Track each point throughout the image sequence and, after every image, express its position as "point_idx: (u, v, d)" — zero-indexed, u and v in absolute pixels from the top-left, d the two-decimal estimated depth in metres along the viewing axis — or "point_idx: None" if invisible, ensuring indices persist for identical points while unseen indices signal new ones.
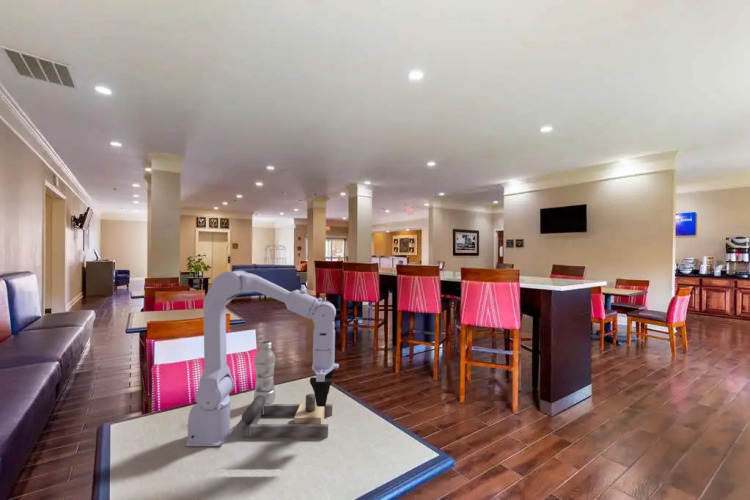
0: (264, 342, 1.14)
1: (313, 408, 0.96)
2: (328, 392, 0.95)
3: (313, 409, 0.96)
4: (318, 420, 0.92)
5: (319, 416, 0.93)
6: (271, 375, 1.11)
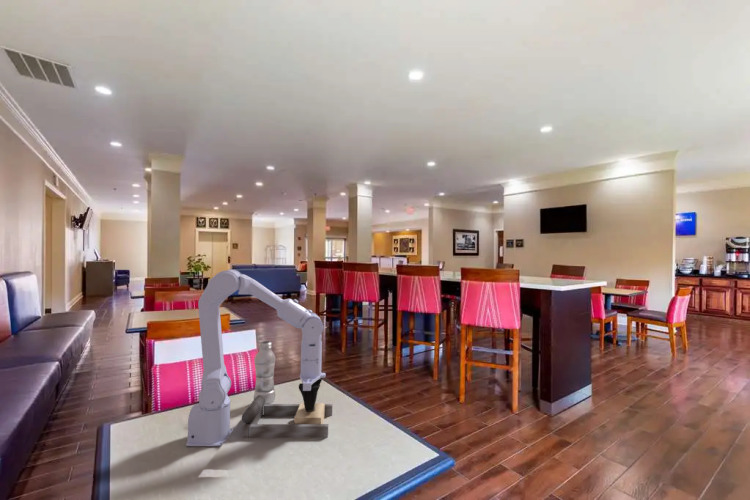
0: (264, 342, 1.14)
1: None
2: None
3: (313, 409, 0.96)
4: (318, 420, 0.92)
5: (319, 416, 0.93)
6: (271, 375, 1.11)
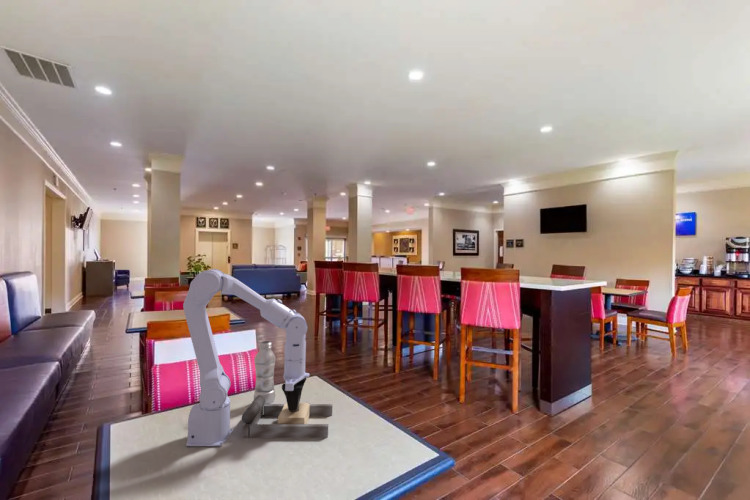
0: (264, 342, 1.14)
1: (297, 408, 0.96)
2: None
3: (297, 409, 0.96)
4: (301, 420, 0.92)
5: (303, 416, 0.93)
6: (271, 375, 1.11)
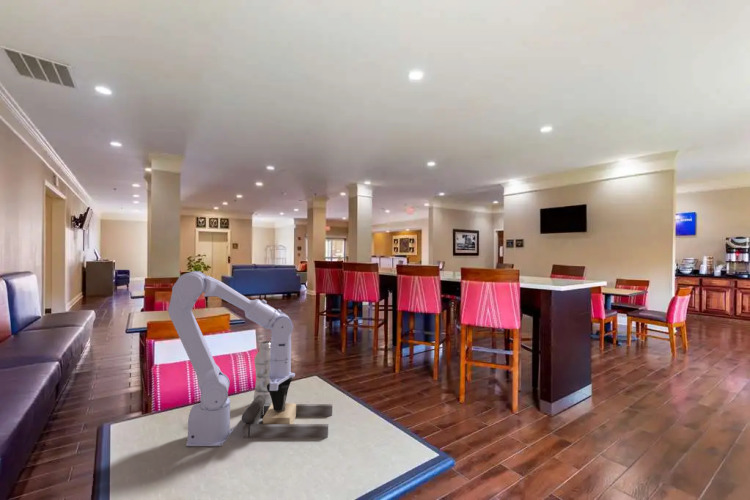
0: (264, 342, 1.14)
1: (283, 408, 0.96)
2: None
3: (283, 409, 0.96)
4: (287, 420, 0.92)
5: (288, 416, 0.93)
6: None
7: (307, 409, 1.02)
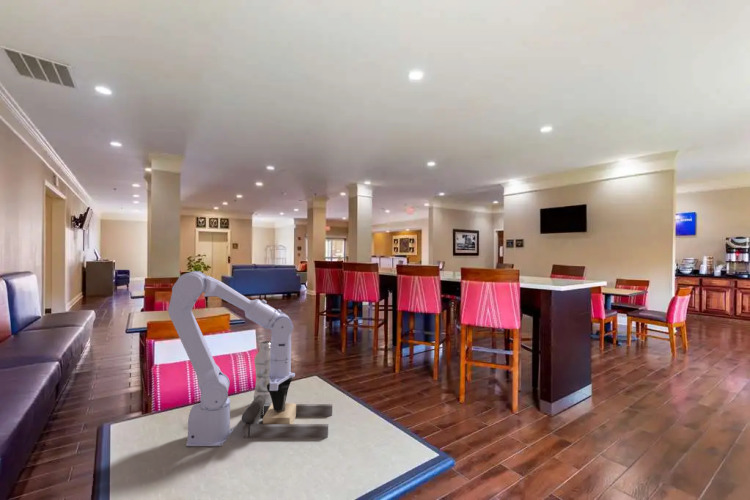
0: (264, 342, 1.14)
1: (283, 408, 0.96)
2: None
3: (283, 409, 0.96)
4: (287, 420, 0.92)
5: (288, 416, 0.93)
6: None
7: (307, 409, 1.02)
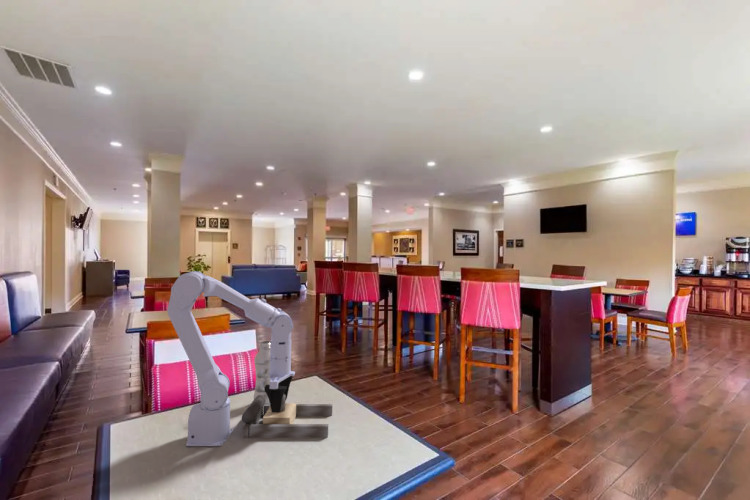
0: (264, 342, 1.14)
1: (283, 408, 0.96)
2: (286, 398, 1.00)
3: (283, 409, 0.96)
4: (287, 420, 0.92)
5: (288, 416, 0.93)
6: None
7: (307, 409, 1.02)
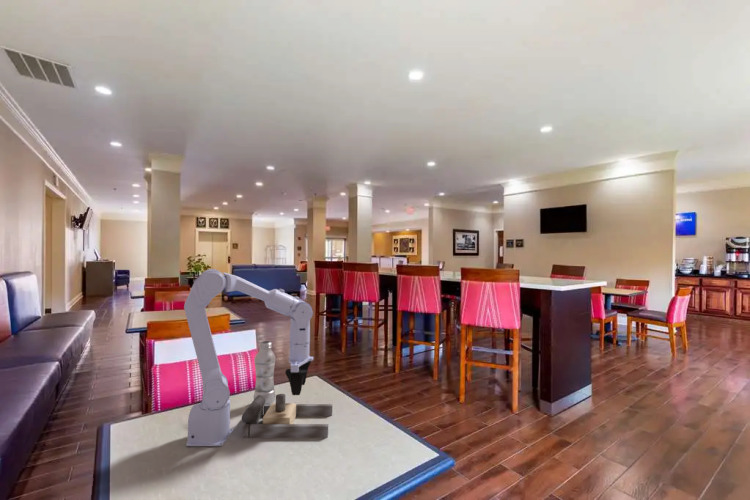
0: (264, 342, 1.14)
1: (283, 408, 0.96)
2: (304, 383, 1.04)
3: (283, 409, 0.96)
4: (287, 420, 0.92)
5: (288, 416, 0.93)
6: (271, 375, 1.11)
7: (307, 409, 1.02)
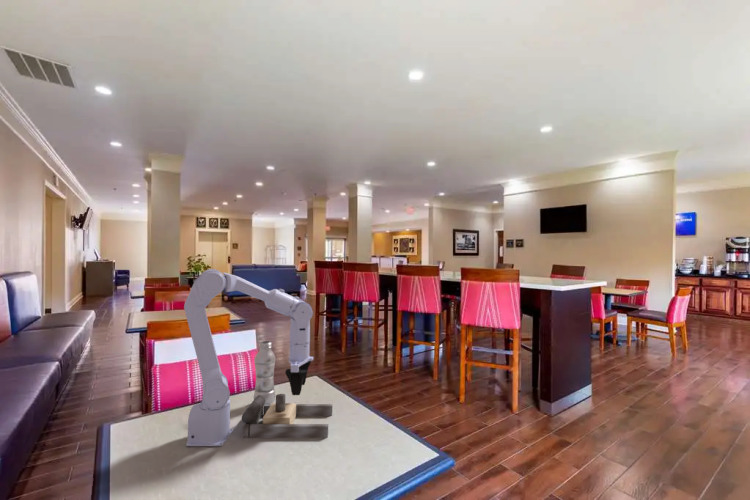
0: (264, 342, 1.14)
1: (283, 408, 0.96)
2: (304, 383, 1.04)
3: (283, 409, 0.96)
4: (287, 420, 0.92)
5: (288, 416, 0.93)
6: (271, 375, 1.11)
7: (307, 409, 1.02)
